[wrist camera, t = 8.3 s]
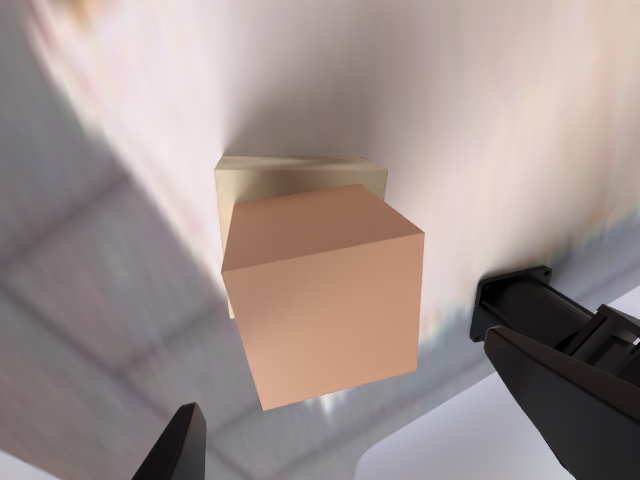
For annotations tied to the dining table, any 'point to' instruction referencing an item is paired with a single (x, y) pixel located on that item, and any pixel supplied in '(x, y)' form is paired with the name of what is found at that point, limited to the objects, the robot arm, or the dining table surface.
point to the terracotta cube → (323, 291)
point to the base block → (287, 180)
